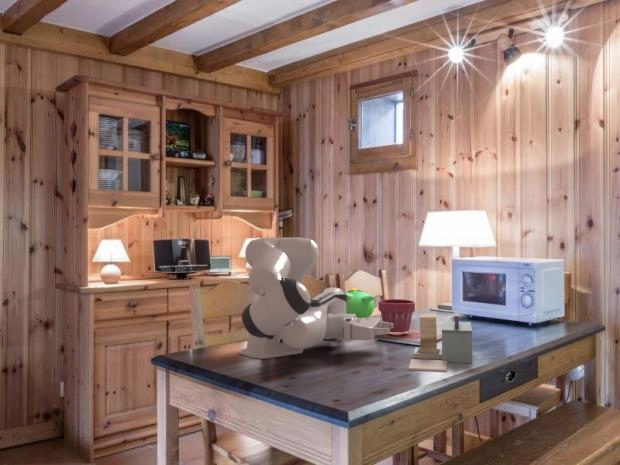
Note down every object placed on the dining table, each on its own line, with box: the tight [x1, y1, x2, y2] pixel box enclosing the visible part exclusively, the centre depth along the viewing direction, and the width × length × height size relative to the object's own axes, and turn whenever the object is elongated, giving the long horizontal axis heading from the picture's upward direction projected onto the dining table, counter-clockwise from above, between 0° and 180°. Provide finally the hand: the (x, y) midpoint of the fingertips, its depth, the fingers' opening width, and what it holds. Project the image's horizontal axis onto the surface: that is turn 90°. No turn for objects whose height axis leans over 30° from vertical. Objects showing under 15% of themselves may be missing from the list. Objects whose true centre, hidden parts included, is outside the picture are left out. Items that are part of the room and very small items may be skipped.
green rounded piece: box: [344, 287, 376, 318], centre depth 253 cm, size 18×17×15 cm
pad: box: [408, 358, 448, 373], centre depth 170 cm, size 11×11×1 cm
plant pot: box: [377, 298, 416, 332], centre depth 222 cm, size 14×14×13 cm
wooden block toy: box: [413, 310, 473, 364], centre depth 182 cm, size 16×18×14 cm
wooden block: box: [419, 314, 438, 354], centre depth 184 cm, size 5×5×13 cm
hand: (391, 328), depth 186 cm, fingers open, 8 cm apart
